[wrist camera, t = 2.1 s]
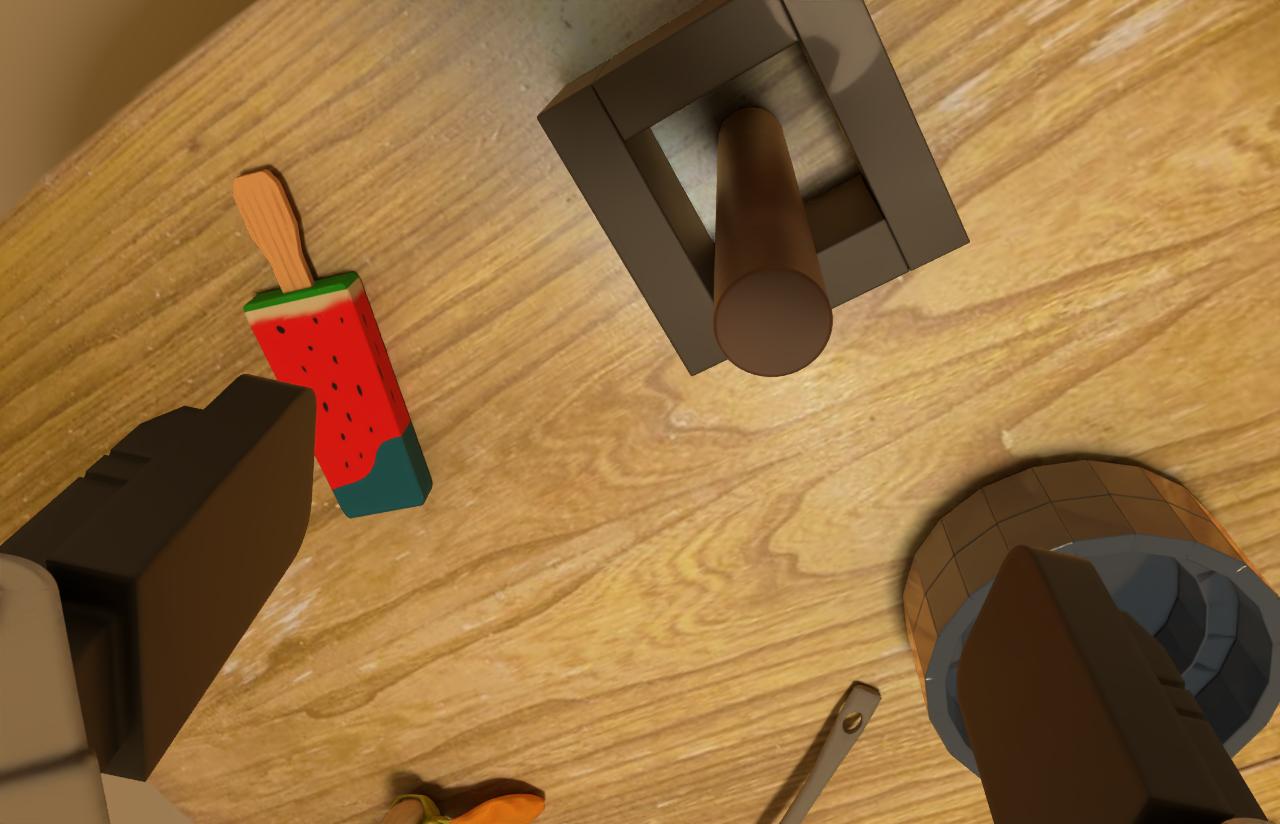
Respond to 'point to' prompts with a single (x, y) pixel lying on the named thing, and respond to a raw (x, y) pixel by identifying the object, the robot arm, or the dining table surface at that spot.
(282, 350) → the popsicle
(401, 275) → the dining table surface
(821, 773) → the ladle
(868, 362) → the dining table surface
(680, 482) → the dining table surface
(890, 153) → the holder
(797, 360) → the stick
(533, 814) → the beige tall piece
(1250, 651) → the dark grey round dish
